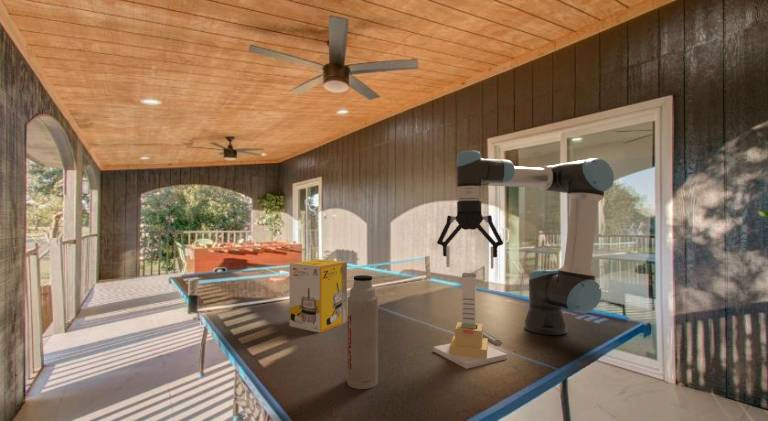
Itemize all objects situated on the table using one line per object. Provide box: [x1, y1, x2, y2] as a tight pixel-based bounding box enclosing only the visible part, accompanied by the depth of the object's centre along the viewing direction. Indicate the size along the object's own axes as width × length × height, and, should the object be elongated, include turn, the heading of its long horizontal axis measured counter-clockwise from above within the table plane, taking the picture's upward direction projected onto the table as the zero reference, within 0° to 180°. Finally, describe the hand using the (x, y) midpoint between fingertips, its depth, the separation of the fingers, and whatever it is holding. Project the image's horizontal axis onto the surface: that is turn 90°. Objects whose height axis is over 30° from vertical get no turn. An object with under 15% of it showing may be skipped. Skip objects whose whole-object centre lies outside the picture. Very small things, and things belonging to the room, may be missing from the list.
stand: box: [433, 321, 508, 370], centre depth 120 cm, size 23×23×9 cm
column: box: [461, 272, 477, 329], centre depth 120 cm, size 4×4×18 cm
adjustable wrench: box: [483, 329, 503, 346], centre depth 142 cm, size 25×6×2 cm, turn 10°
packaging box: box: [288, 259, 348, 334], centre depth 154 cm, size 16×16×25 cm
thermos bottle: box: [346, 274, 379, 390], centre depth 101 cm, size 8×8×28 cm
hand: (469, 267), depth 121 cm, fingers open, 13 cm apart
